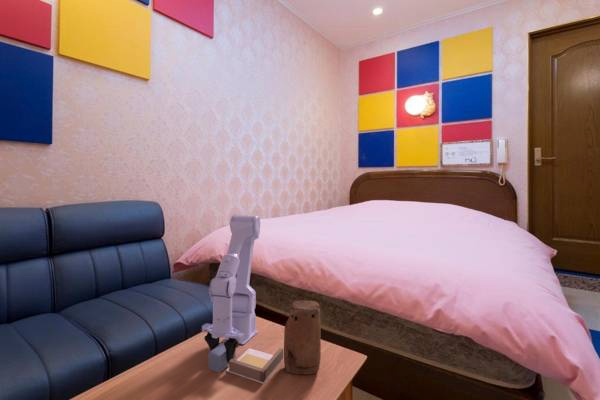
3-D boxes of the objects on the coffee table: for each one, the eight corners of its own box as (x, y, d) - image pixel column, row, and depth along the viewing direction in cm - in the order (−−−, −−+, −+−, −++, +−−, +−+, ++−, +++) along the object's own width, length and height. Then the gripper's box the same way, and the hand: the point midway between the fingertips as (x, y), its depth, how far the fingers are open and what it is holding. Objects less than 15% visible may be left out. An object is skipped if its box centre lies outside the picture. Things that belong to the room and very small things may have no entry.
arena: (249, 349, 96) (249, 339, 96) (283, 359, 91) (283, 348, 91) (226, 371, 85) (226, 360, 85) (263, 383, 80) (263, 372, 80)
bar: (225, 354, 93) (225, 339, 93) (235, 357, 92) (235, 342, 91) (208, 369, 86) (208, 353, 86) (219, 373, 84) (219, 356, 84)
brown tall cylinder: (317, 360, 91) (319, 298, 90) (321, 376, 84) (322, 309, 82) (283, 361, 90) (284, 299, 89) (283, 377, 83) (285, 310, 81)
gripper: (194, 316, 87) (194, 359, 88) (234, 326, 81) (234, 372, 82) (210, 307, 94) (210, 347, 94) (248, 316, 88) (247, 358, 89)
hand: (222, 358), depth 89 cm, fingers open, 5 cm apart
